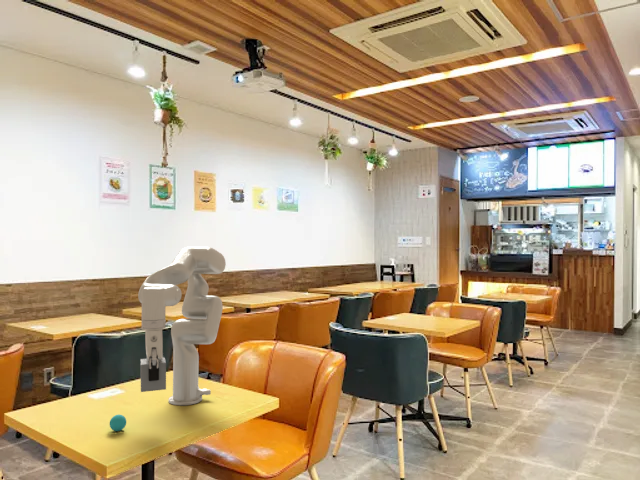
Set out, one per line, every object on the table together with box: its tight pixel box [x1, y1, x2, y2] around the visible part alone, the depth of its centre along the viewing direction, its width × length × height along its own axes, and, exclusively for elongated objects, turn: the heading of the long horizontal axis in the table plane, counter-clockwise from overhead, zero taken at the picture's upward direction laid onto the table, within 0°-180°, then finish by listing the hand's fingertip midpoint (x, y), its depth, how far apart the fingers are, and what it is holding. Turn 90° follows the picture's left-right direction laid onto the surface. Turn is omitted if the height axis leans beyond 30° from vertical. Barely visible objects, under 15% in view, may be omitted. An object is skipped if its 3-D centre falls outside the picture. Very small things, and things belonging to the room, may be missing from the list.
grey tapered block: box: [140, 356, 167, 393], centre depth 163 cm, size 8×8×9 cm
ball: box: [109, 414, 127, 432], centre depth 158 cm, size 5×5×5 cm
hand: (153, 376), depth 163 cm, fingers closed on grey tapered block, 7 cm apart
